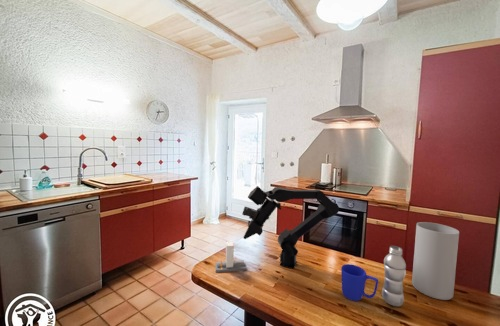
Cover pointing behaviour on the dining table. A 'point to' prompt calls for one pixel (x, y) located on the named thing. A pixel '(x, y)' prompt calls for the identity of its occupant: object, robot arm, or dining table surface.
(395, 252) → the plastic bottle
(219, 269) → the board
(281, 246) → the robot arm
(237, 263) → the light grey bar
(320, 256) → the dining table surface
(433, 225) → the cylinder vase
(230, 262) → the white cardboard box
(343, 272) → the mug
